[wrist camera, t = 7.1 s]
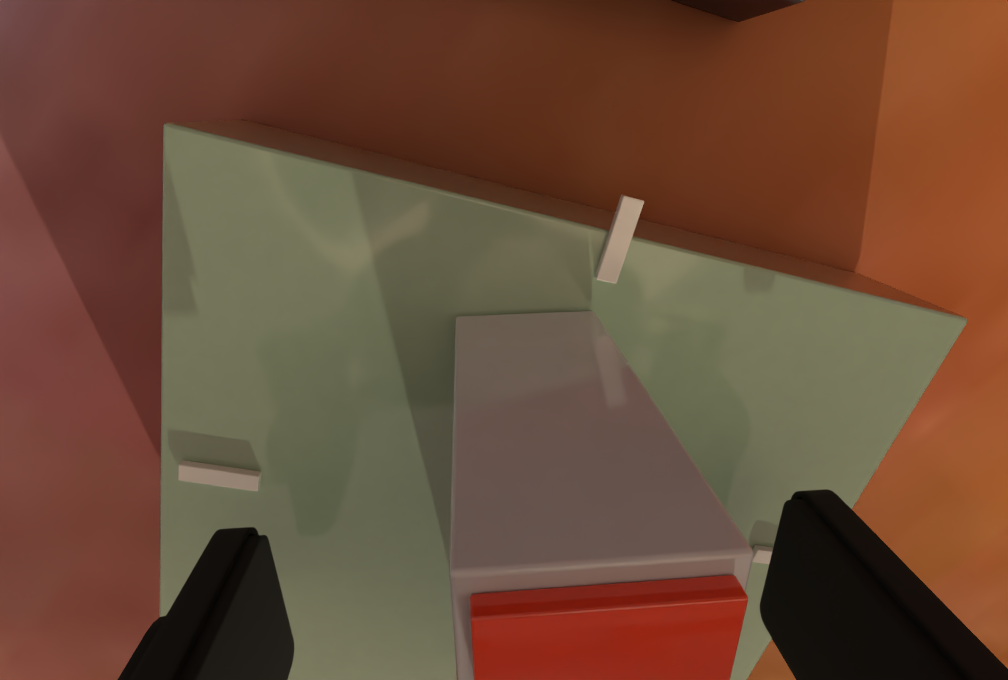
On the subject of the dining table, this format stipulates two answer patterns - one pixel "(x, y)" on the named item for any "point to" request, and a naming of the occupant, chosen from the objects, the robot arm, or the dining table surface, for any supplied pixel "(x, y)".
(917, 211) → the dining table surface
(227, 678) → the robot arm
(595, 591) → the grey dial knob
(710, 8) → the button block
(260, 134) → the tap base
